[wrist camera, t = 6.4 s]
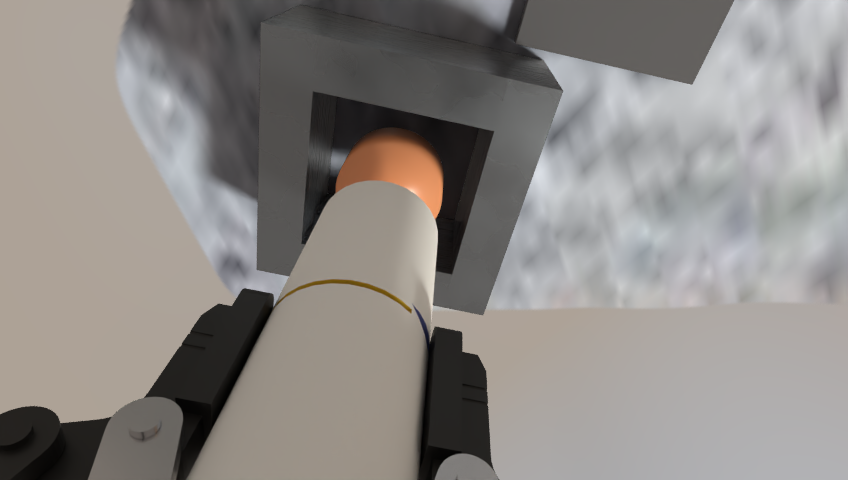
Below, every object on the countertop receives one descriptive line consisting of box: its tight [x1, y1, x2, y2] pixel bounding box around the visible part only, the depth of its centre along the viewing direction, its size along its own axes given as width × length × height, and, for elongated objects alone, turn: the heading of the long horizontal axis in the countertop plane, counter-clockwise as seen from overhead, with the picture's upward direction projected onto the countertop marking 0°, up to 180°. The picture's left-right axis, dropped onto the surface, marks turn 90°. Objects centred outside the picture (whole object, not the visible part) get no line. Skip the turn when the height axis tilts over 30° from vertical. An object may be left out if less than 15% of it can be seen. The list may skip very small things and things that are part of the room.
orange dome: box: [336, 127, 444, 219], centre depth 21 cm, size 4×4×2 cm
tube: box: [186, 180, 438, 480], centre depth 11 cm, size 4×4×15 cm
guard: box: [257, 5, 563, 315], centre depth 22 cm, size 11×11×5 cm
